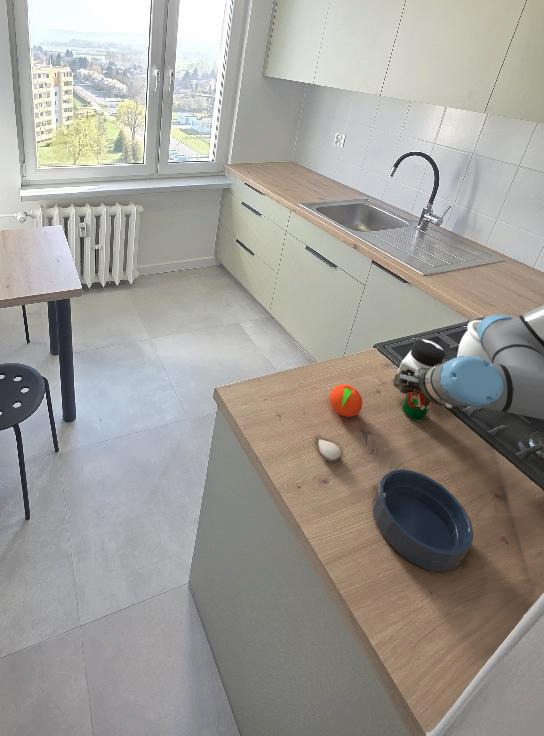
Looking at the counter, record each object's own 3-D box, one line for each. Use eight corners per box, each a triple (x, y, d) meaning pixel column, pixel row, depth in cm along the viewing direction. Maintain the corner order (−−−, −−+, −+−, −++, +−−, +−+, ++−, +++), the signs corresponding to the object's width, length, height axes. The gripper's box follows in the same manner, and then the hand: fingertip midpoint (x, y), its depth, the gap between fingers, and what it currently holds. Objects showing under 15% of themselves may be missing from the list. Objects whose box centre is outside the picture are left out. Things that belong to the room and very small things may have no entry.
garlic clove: (328, 467, 85) (330, 459, 84) (310, 447, 89) (312, 438, 88) (343, 459, 86) (346, 451, 85) (325, 440, 91) (327, 432, 90)
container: (426, 403, 101) (443, 362, 96) (392, 384, 106) (407, 344, 101) (436, 387, 106) (453, 347, 101) (404, 370, 111) (418, 331, 106)
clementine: (352, 432, 93) (360, 408, 90) (321, 415, 97) (328, 392, 94) (361, 409, 99) (369, 387, 96) (332, 394, 102) (338, 372, 100)
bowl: (455, 510, 78) (465, 491, 76) (468, 592, 66) (480, 572, 64) (372, 476, 83) (379, 457, 81) (371, 545, 72) (379, 526, 69)
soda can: (418, 405, 100) (433, 366, 96) (430, 422, 96) (446, 383, 91) (397, 404, 101) (411, 365, 96) (407, 421, 96) (423, 381, 91)
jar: (458, 358, 117) (477, 314, 110) (502, 381, 109) (525, 336, 103) (442, 374, 111) (461, 328, 105) (487, 399, 103) (510, 352, 97)
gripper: (390, 387, 82) (372, 393, 102) (502, 424, 75) (458, 422, 95) (397, 350, 84) (377, 363, 105) (506, 382, 77) (462, 389, 97)
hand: (416, 391), depth 100 cm, fingers closed on soda can, 5 cm apart
